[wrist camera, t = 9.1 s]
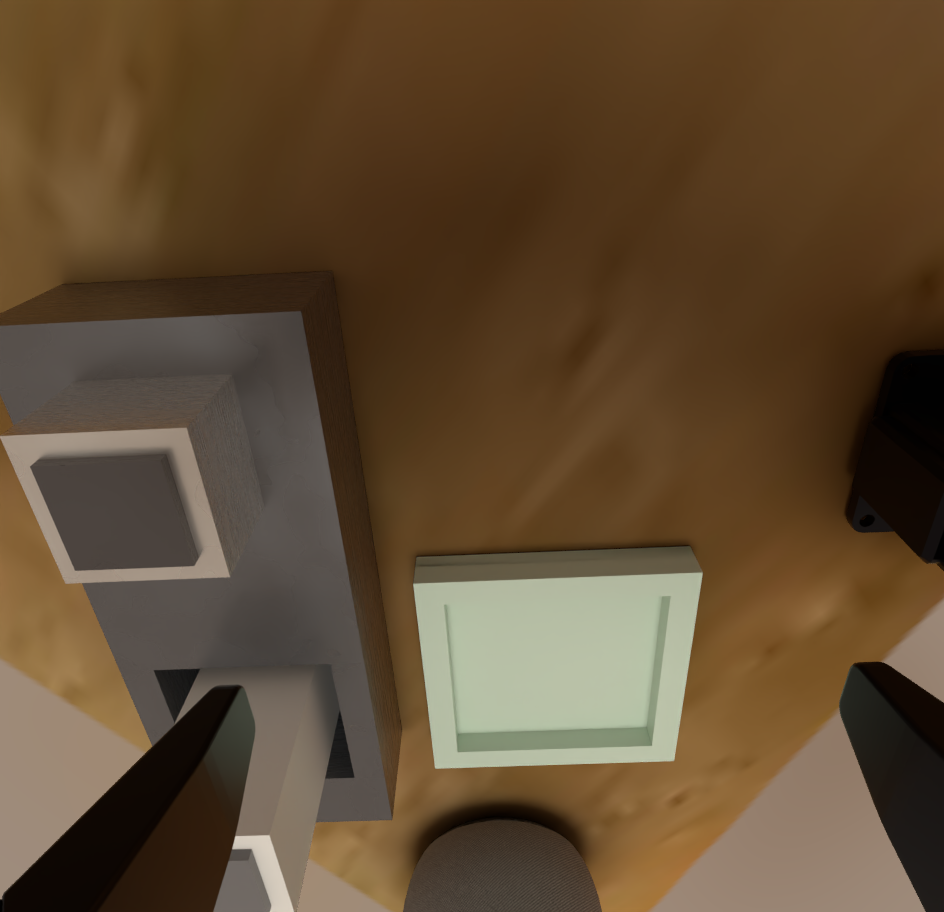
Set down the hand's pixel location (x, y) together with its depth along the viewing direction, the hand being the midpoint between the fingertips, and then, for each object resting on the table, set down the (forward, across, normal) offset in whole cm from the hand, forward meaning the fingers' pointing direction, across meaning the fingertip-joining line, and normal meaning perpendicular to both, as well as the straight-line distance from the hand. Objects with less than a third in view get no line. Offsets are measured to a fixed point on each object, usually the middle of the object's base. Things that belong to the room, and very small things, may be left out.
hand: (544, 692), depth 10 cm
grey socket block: (+12, +9, +6) cm, 17 cm away
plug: (+12, +9, +11) cm, 18 cm away
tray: (+12, -2, +12) cm, 17 cm away
